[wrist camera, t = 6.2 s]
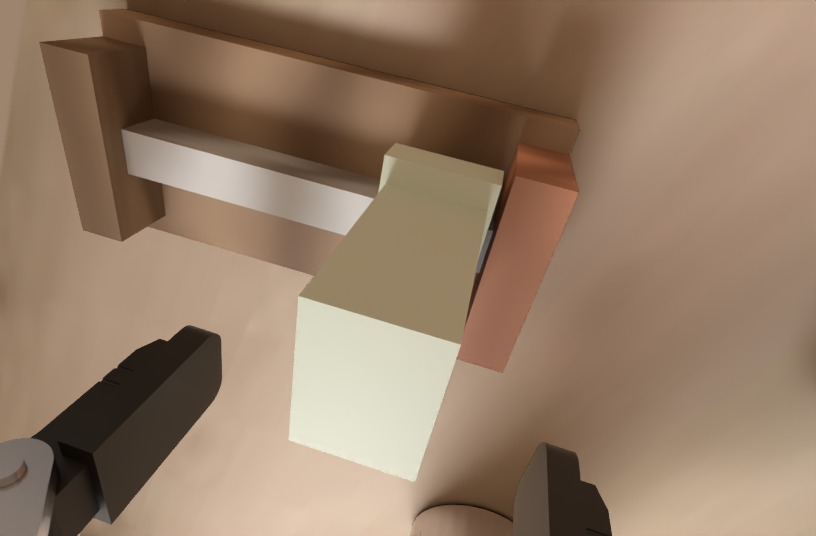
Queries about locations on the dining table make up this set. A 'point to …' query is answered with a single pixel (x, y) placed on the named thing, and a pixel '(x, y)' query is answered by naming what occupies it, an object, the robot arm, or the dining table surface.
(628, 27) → the dining table surface
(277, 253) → the track
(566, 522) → the robot arm
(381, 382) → the slider
